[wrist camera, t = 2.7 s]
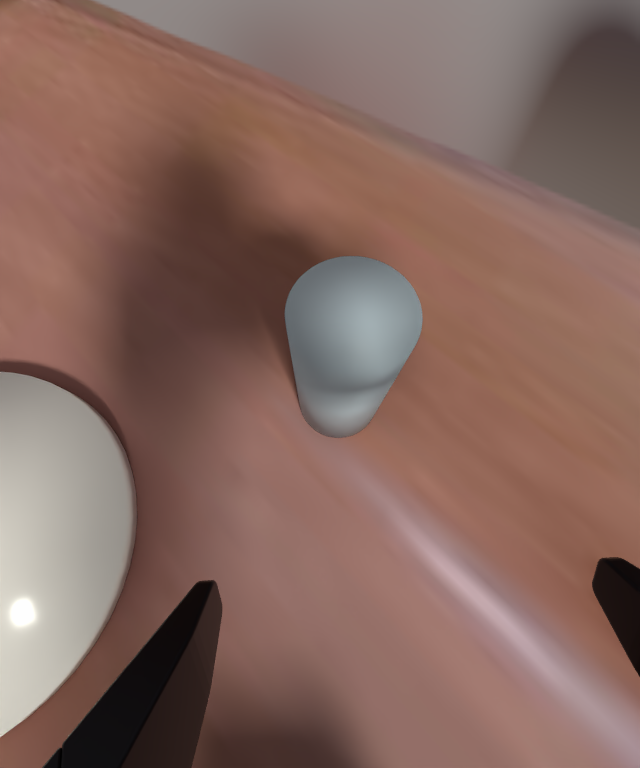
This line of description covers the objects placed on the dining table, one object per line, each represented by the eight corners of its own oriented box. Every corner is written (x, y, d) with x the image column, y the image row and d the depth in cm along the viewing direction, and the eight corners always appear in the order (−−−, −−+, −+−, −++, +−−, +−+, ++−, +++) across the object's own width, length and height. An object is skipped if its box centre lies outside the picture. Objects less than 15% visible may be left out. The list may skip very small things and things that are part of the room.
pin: (361, 449, 23) (398, 398, 12) (287, 420, 23) (262, 347, 13) (386, 379, 24) (438, 280, 14) (316, 353, 25) (315, 240, 14)
